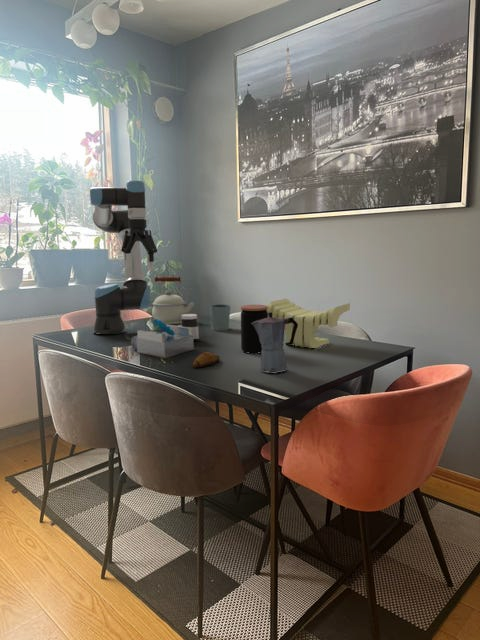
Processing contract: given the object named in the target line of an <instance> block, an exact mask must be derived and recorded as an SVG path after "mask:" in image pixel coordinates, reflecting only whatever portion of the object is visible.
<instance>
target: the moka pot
mask: <svg viewBox="0 0 480 640" xmlns="http://www.w3.org/2000/svg"><path fill="white" fill-rule="evenodd" d="M272 314H273V313H271V312H270V313H268V316H269V317H268V318H265V319H261V320H258V321H254V322H253V323H252V325H253V326H254V328H255V330H256V332H257V333H258V335H259V340H260V343H261V344H262V345H261V346H262V351H261V353H260V354H261V358H260V371H261V370H263V371H269V372H277V371H282V370H286V368H287V369H288V367H287V361H286V356H285V352H284V351H285V350H284V342H285V324H289V323H293V324H294V327H293V331H292V335H291V339H290V342H289V343H287V342H285V346H289V345H292V344H293V340H294V337H295V333H296V330H297V327H298V324H297V322H296V321H295V320H294V319H293V318H292V317H291V318H288V319H287V318H284V319H279V318H274V317H272ZM286 371H287V370H286Z"/></svg>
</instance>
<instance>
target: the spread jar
mask: <svg viewBox="0 0 480 640" xmlns="http://www.w3.org/2000/svg"><path fill="white" fill-rule="evenodd" d="M181 317H182V320H181V323H180V324H177V326H182V327H189V328H191V333H192V335H193V343H196V342H198V341H199V339H200V335H199V333H200V332H199V320H198V314H196V313H188V314H184V315H181Z"/></svg>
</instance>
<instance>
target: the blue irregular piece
mask: <svg viewBox="0 0 480 640" xmlns="http://www.w3.org/2000/svg"><path fill="white" fill-rule="evenodd" d="M153 324H154V325H155V326H156V327H155V330H156V333H157V332H159V333H162V332H165V333H166V332H167V334H168V335H172V336H173V335H175V333H174V331H173V330H172V329H171V330H170V327H169V326H166V324H165V323H162V322H161V321H160V320H157V319H155V318H154V320H153Z"/></svg>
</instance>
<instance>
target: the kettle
mask: <svg viewBox="0 0 480 640" xmlns="http://www.w3.org/2000/svg"><path fill="white" fill-rule="evenodd" d="M157 282H163V283H165V282H167V283H168V282H169V283H170V282H179V284H180V285H181V287H182V289H183V290H184V291H185V292H186V295H187V296H186V300H185V301H184V299H183V298H182V297H181V296H180V295H177V294H173V292H172V291H171V290H170V289H167V290H165V292H164V293H165V294H163V295H162V294H160V295H159V296H157V297H156V298H155V299H154V301H153V300H152V297H151V295H150V303H151V304H150V306H151V307H152V309H151V314H152V316H153V318H154V320H155V319H157V320H160V321H161V322H162V323H165V324H166V325H180V324H181V320H182V317H181V315H184V314H190V311H191V310H192V308H193V307H194V305H195V302H194V301H193V302H192V301H191V302H190V303H189V304H187V303H188V300H189V292H188V290H187V289H186V287H184V285H183V283H182V276H178V277H176V276H161V277H158V276H154V285H153V286H152V287H151V291H152V290H153V289H154V288H155V286H156V284H157Z"/></svg>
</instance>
